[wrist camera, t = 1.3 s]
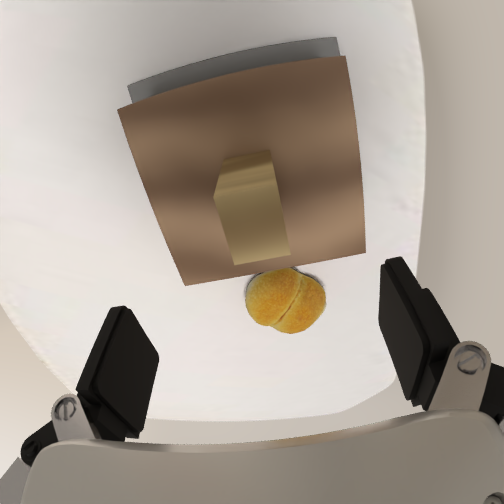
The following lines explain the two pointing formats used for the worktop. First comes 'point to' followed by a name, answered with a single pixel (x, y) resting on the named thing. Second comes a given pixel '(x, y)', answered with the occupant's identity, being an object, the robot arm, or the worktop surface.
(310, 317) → the bread roll
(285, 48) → the rubber mat
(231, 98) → the square lid with knob
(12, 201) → the worktop surface
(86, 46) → the worktop surface
